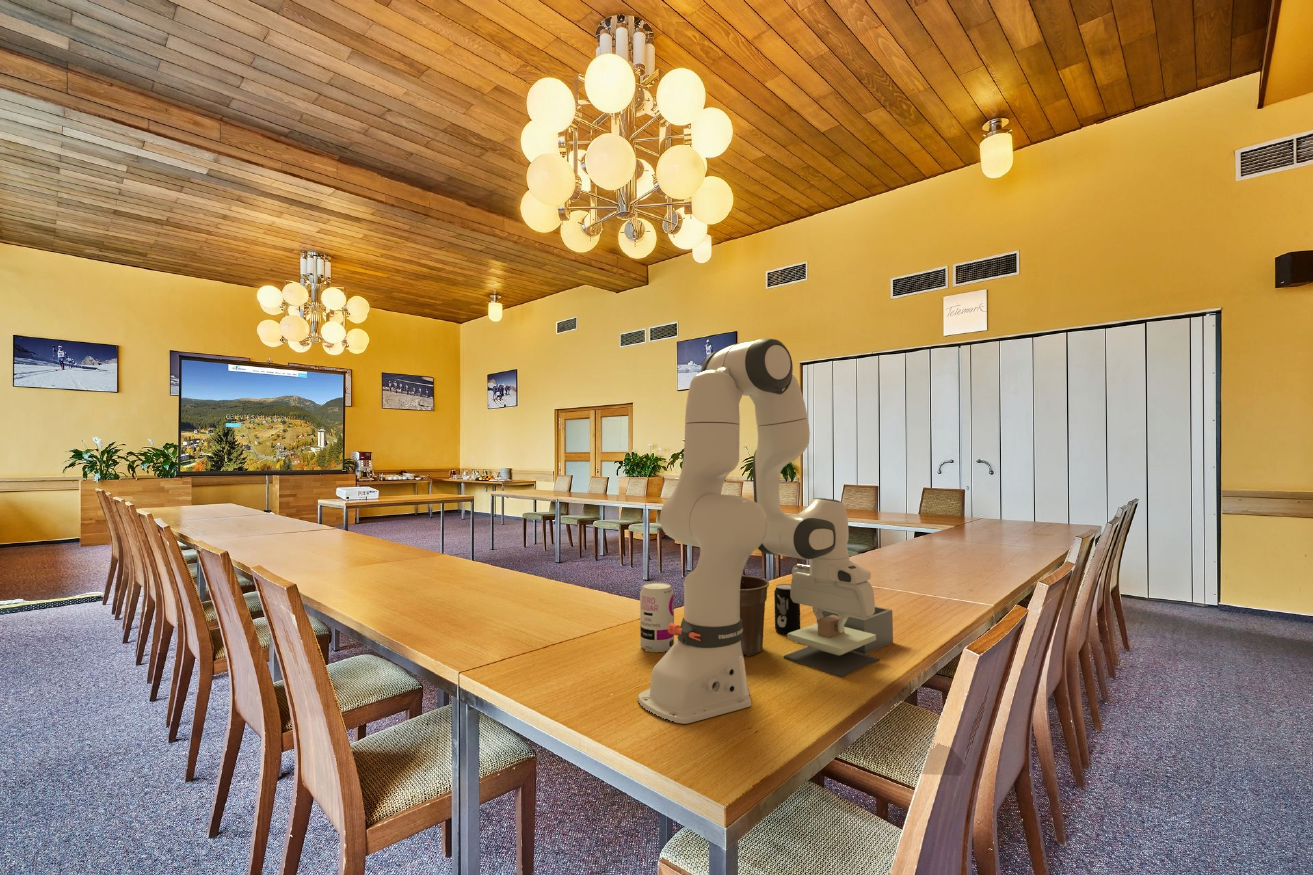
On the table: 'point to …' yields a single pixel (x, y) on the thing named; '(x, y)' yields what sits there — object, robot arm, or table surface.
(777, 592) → the beverage can
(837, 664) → the rubber mat
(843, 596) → the robot arm
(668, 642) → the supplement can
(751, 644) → the plant pot
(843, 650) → the lid
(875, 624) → the storage box
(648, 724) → the table surface
